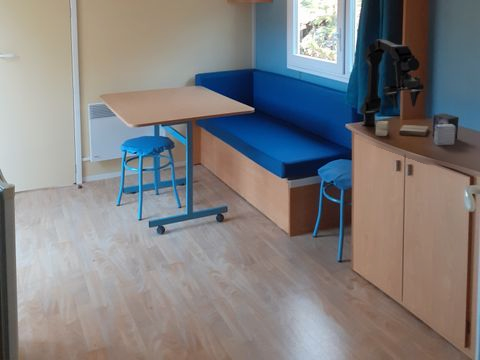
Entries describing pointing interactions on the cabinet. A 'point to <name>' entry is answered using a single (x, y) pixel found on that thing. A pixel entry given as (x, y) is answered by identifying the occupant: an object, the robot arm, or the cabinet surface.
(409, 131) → the beige flat square slab
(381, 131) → the maple cube
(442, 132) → the medicine box
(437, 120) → the small box
